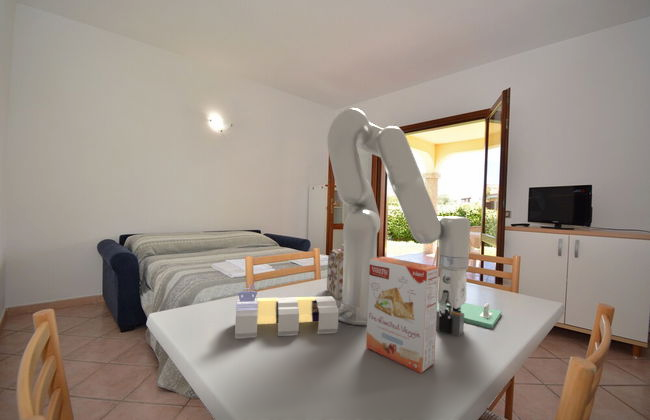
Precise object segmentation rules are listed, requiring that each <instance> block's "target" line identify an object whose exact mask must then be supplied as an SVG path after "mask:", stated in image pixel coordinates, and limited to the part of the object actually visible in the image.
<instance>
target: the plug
mask: <svg viewBox="0 0 650 420" xmlns="http://www.w3.org/2000/svg"><path fill="white" fill-rule="evenodd" d="M447 310H448V309H447ZM448 312H449V310H448ZM439 313H440V309H439V310H438V311H437V321H436V331H439ZM451 318H453V324H452V333H451V334H450V335H454V336H456V337H460V336H461V335H462V334H463V333H464V330H465V326H464V325H465V322H464V313H461V312H457V311H452V317H451Z"/></svg>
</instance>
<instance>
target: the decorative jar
mask: <svg viewBox="0 0 650 420" xmlns="http://www.w3.org/2000/svg"><path fill="white" fill-rule="evenodd" d="M327 257H328V258H327V271H326V273H327V275H326V290H327V291H328V292H329V293H330V294H331V295H332V297H334V298H336V299H337V300H340V299H341V300H342V288H343V260H344V243H343V244H341V247H340V248H334V249H332V250H331V251H330V253H329V254H328V256H327Z"/></svg>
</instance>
